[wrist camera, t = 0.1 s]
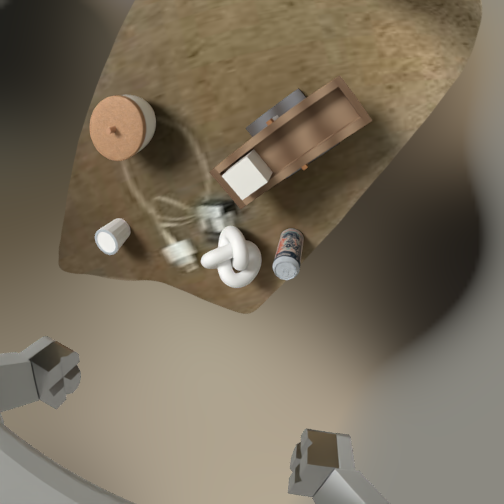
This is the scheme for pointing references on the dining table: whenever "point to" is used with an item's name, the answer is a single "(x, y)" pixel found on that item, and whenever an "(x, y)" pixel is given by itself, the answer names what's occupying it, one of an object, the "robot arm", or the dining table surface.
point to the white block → (248, 174)
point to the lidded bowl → (122, 126)
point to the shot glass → (112, 236)
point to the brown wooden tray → (297, 133)
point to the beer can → (288, 254)
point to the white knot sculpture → (234, 258)
